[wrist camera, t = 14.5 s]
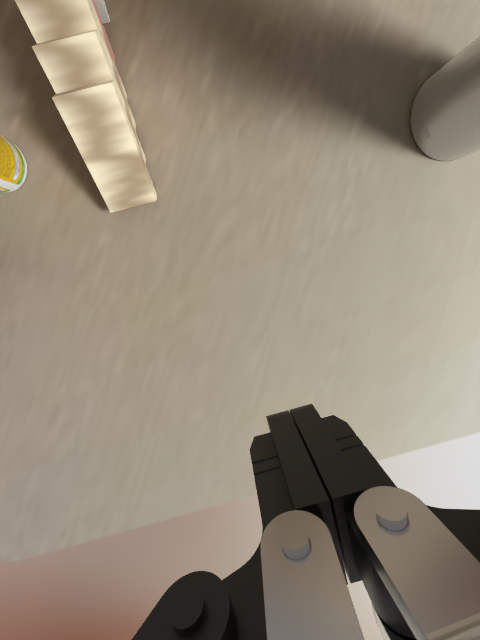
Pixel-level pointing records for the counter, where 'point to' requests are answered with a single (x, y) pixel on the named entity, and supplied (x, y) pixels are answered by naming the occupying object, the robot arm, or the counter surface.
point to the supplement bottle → (11, 166)
